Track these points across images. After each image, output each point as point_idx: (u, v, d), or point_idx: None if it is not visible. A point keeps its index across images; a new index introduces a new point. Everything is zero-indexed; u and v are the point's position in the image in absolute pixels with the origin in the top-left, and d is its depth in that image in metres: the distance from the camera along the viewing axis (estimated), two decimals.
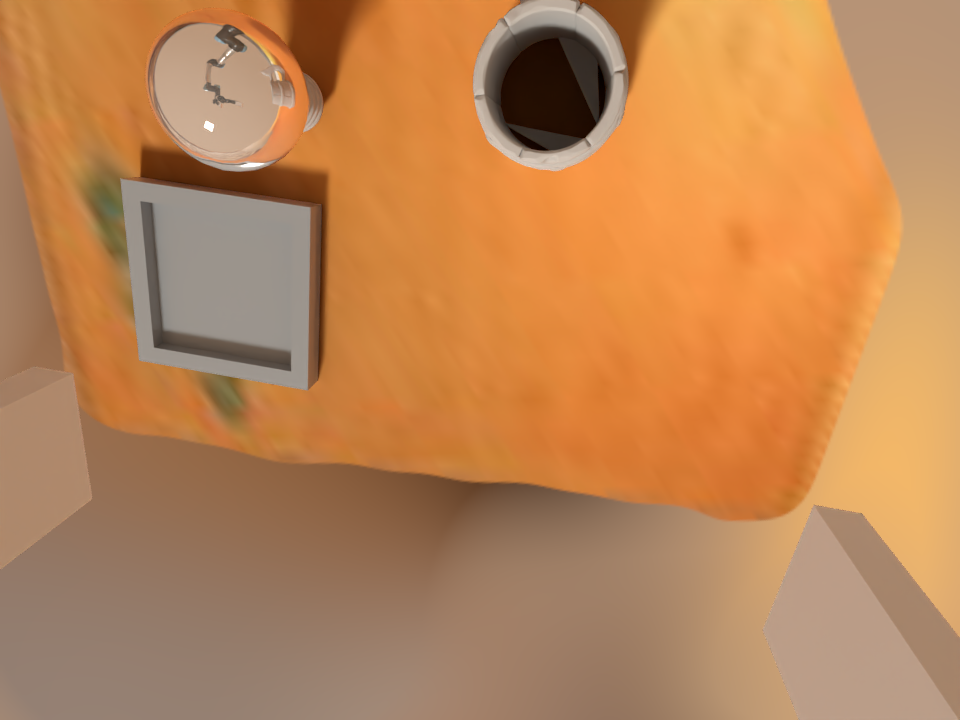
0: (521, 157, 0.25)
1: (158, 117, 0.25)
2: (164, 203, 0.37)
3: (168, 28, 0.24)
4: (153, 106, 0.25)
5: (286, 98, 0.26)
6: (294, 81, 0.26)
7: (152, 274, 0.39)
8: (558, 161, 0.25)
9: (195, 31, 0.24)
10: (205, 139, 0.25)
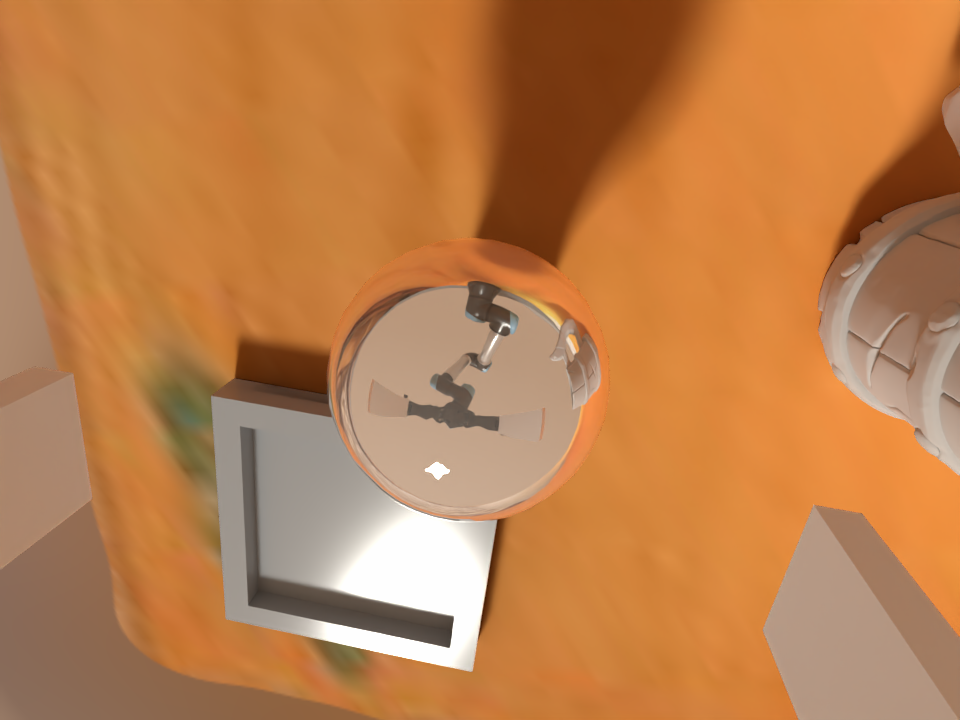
0: None
1: (357, 463, 0.13)
2: (277, 431, 0.24)
3: (396, 313, 0.12)
4: (351, 448, 0.13)
5: (601, 417, 0.13)
6: (608, 375, 0.14)
7: (250, 513, 0.27)
8: None
9: (463, 330, 0.11)
10: (455, 514, 0.13)
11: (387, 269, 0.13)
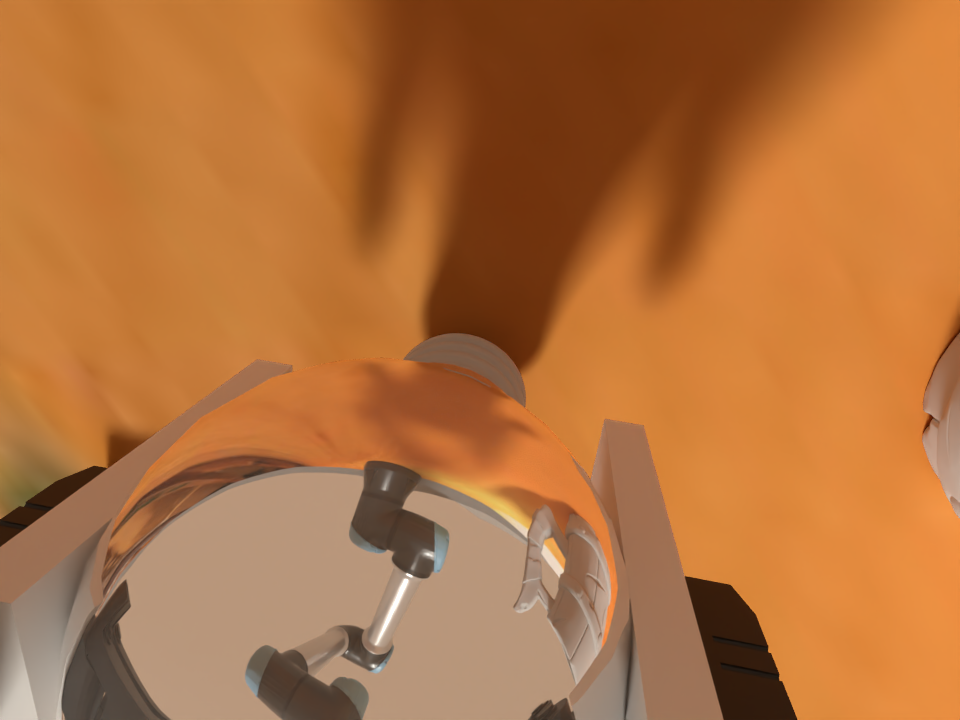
0: None
1: None
2: None
3: (153, 587, 0.05)
4: None
5: None
6: None
7: None
8: None
9: (293, 655, 0.05)
10: None
11: (184, 443, 0.06)
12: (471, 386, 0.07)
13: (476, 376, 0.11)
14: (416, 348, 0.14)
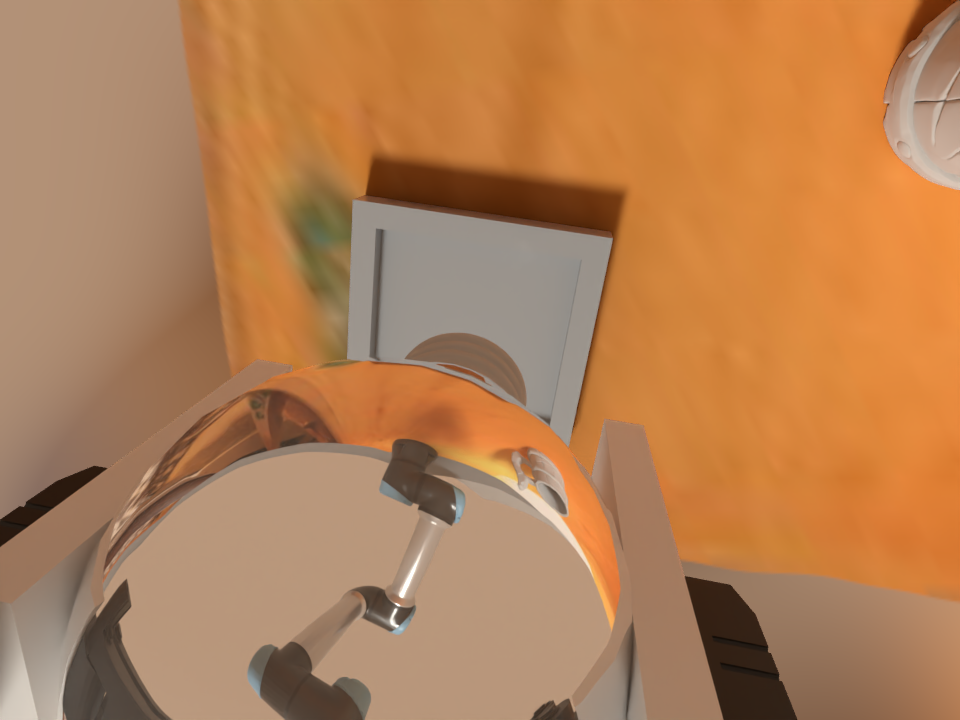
0: None
1: None
2: (408, 231, 0.28)
3: (155, 587, 0.05)
4: None
5: None
6: None
7: (374, 319, 0.30)
8: None
9: (295, 656, 0.05)
10: None
11: (186, 443, 0.06)
12: (473, 385, 0.07)
13: (477, 376, 0.11)
14: (417, 348, 0.14)
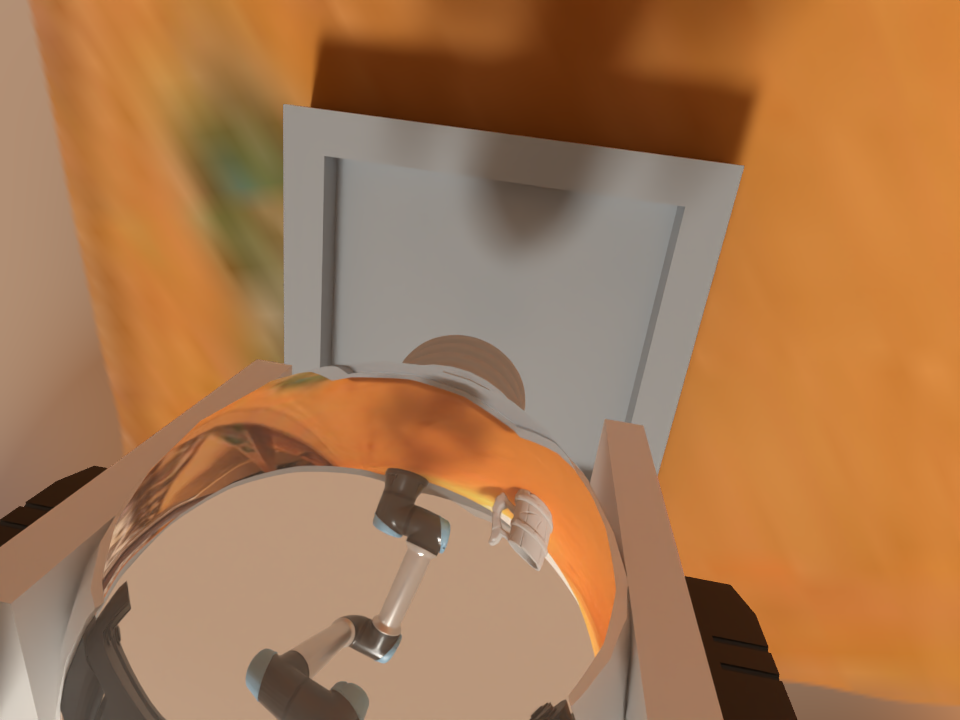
0: None
1: None
2: (381, 160, 0.16)
3: (152, 592, 0.05)
4: None
5: None
6: None
7: (327, 315, 0.19)
8: None
9: (292, 660, 0.05)
10: None
11: (184, 447, 0.06)
12: (471, 390, 0.07)
13: (476, 378, 0.11)
14: (416, 350, 0.14)
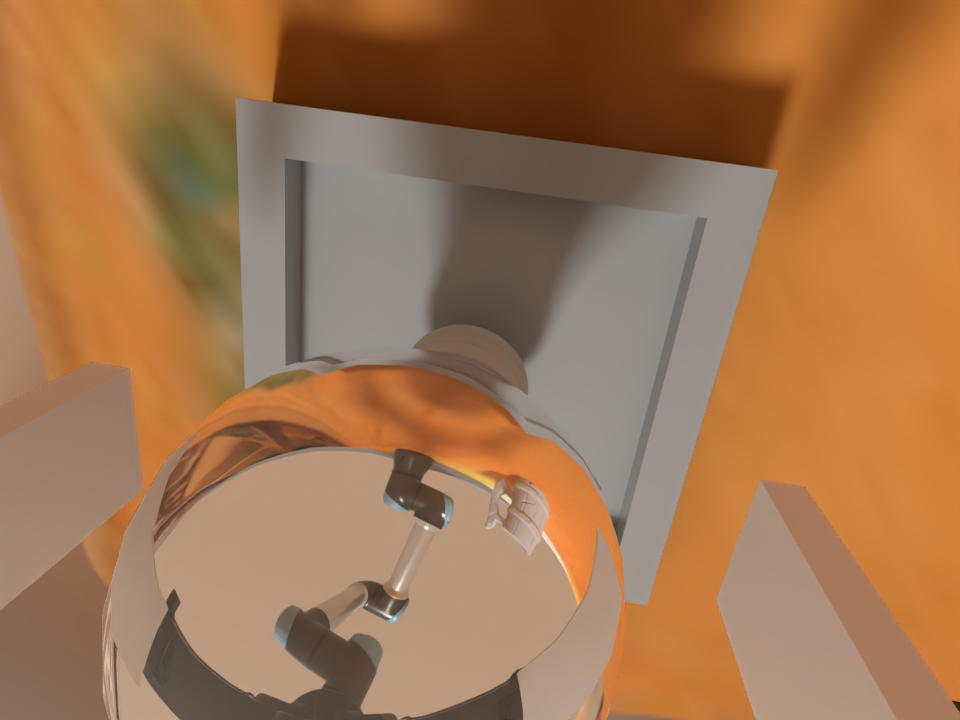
0: None
1: None
2: (350, 164, 0.14)
3: (189, 549, 0.06)
4: None
5: (612, 692, 0.07)
6: (624, 603, 0.08)
7: (294, 341, 0.16)
8: None
9: (314, 606, 0.05)
10: None
11: (211, 424, 0.07)
12: (472, 372, 0.08)
13: (479, 365, 0.12)
14: (423, 339, 0.15)
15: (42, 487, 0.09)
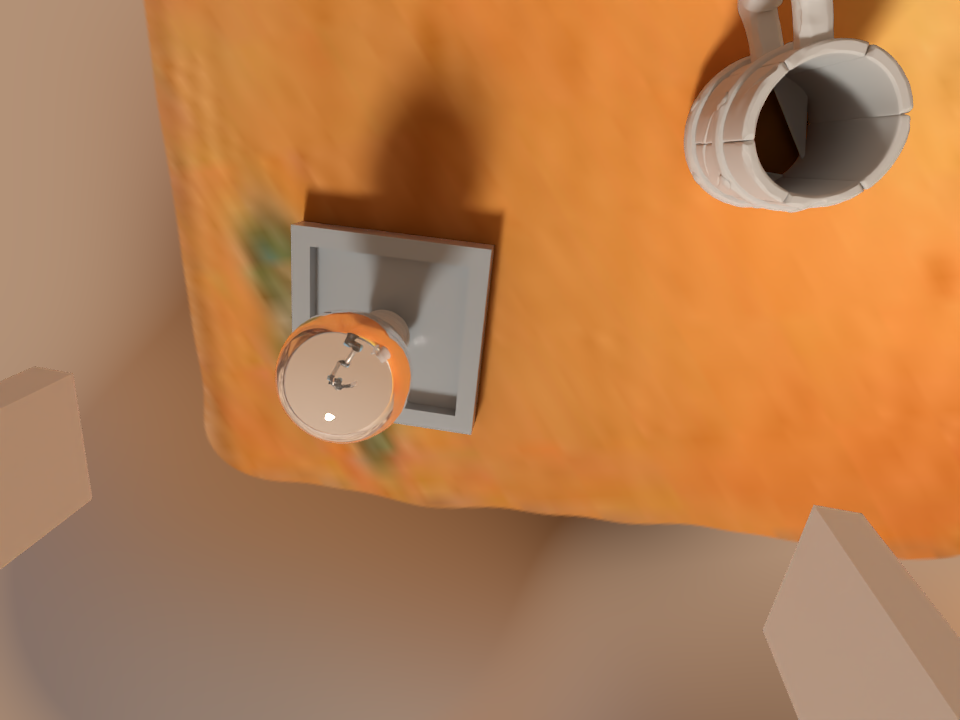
0: (786, 202, 0.24)
1: (288, 414, 0.28)
2: (335, 248, 0.36)
3: (301, 346, 0.27)
4: (285, 407, 0.28)
5: (401, 390, 0.29)
6: (406, 371, 0.29)
7: None
8: (825, 205, 0.24)
9: (327, 352, 0.27)
10: (332, 435, 0.28)
11: (301, 326, 0.29)
12: (367, 313, 0.30)
13: None
14: None
15: None
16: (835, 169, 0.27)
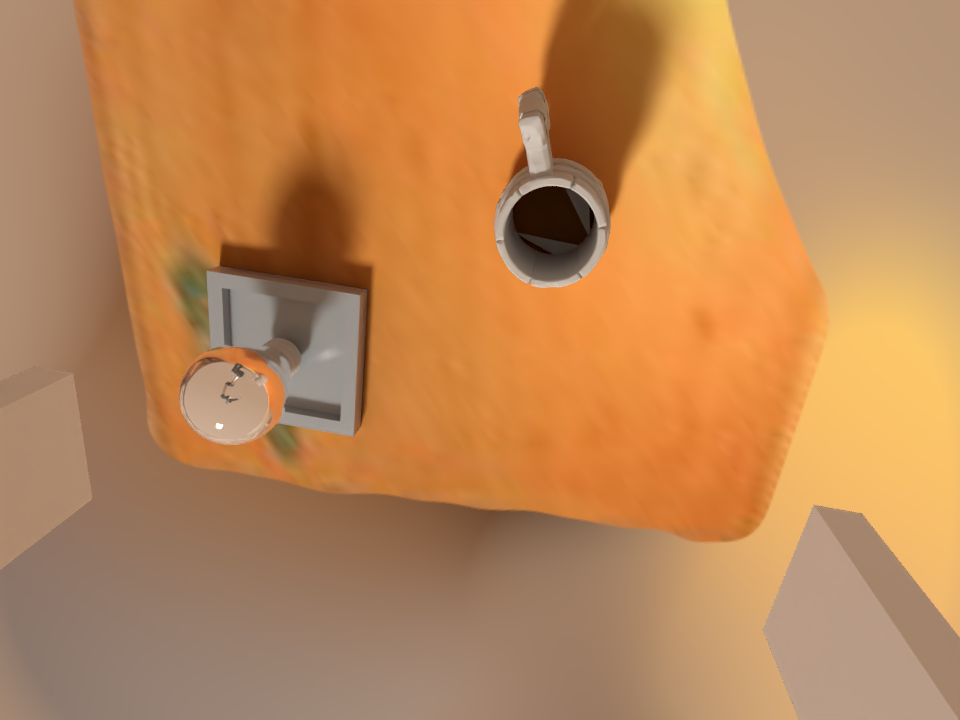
0: (530, 283, 0.34)
1: None
2: (241, 290, 0.45)
3: (194, 374, 0.37)
4: (184, 417, 0.38)
5: (272, 406, 0.39)
6: (278, 392, 0.39)
7: (227, 343, 0.48)
8: (558, 286, 0.34)
9: (212, 379, 0.37)
10: (219, 439, 0.38)
11: (198, 357, 0.39)
12: (250, 348, 0.40)
13: (271, 349, 0.43)
14: None
15: None
16: (584, 254, 0.36)
